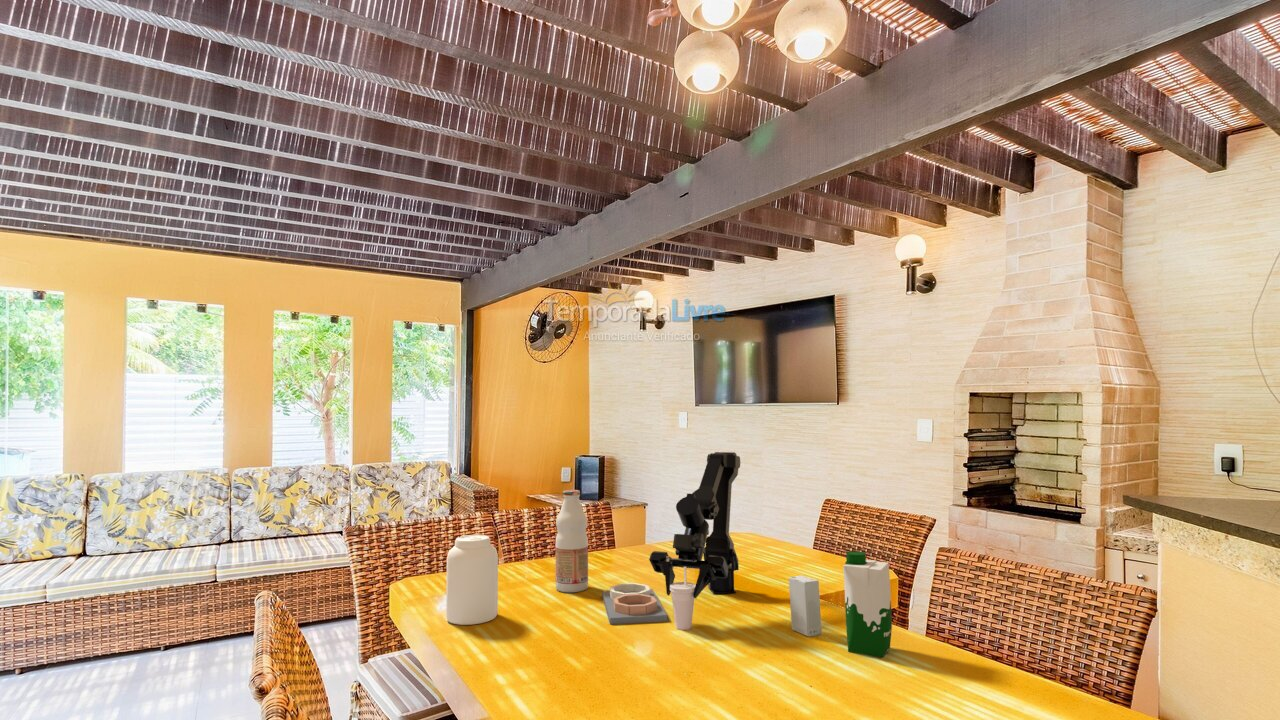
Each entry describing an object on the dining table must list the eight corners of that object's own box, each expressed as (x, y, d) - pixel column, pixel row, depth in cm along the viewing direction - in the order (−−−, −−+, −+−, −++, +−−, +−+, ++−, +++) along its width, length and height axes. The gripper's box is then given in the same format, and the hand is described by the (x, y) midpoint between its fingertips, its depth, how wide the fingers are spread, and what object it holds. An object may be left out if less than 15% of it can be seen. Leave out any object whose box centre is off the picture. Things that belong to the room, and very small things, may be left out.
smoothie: (697, 631, 154) (697, 570, 155) (670, 631, 154) (669, 570, 155) (696, 622, 160) (695, 563, 161) (669, 622, 160) (669, 563, 161)
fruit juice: (557, 594, 187) (556, 493, 189) (554, 585, 196) (553, 489, 198) (590, 591, 189) (589, 492, 191) (585, 583, 198) (585, 488, 200)
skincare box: (822, 634, 151) (821, 580, 152) (807, 637, 149) (805, 582, 150) (804, 626, 157) (803, 574, 157) (789, 629, 155) (788, 576, 155)
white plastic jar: (507, 617, 166) (508, 536, 168) (463, 629, 157) (464, 543, 159) (479, 607, 175) (480, 530, 176) (436, 618, 166) (437, 537, 167)
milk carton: (853, 640, 147) (850, 548, 149) (896, 647, 142) (892, 552, 144) (842, 652, 140) (839, 555, 141) (887, 660, 135) (883, 560, 137)
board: (652, 594, 185) (652, 581, 186) (667, 621, 162) (667, 606, 162) (602, 596, 183) (602, 583, 184) (609, 624, 160) (609, 609, 160)
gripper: (651, 518, 166) (634, 573, 155) (724, 522, 159) (712, 580, 148) (662, 544, 173) (647, 599, 162) (733, 549, 166) (722, 606, 155)
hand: (681, 595), depth 156 cm, fingers closed on smoothie, 6 cm apart
